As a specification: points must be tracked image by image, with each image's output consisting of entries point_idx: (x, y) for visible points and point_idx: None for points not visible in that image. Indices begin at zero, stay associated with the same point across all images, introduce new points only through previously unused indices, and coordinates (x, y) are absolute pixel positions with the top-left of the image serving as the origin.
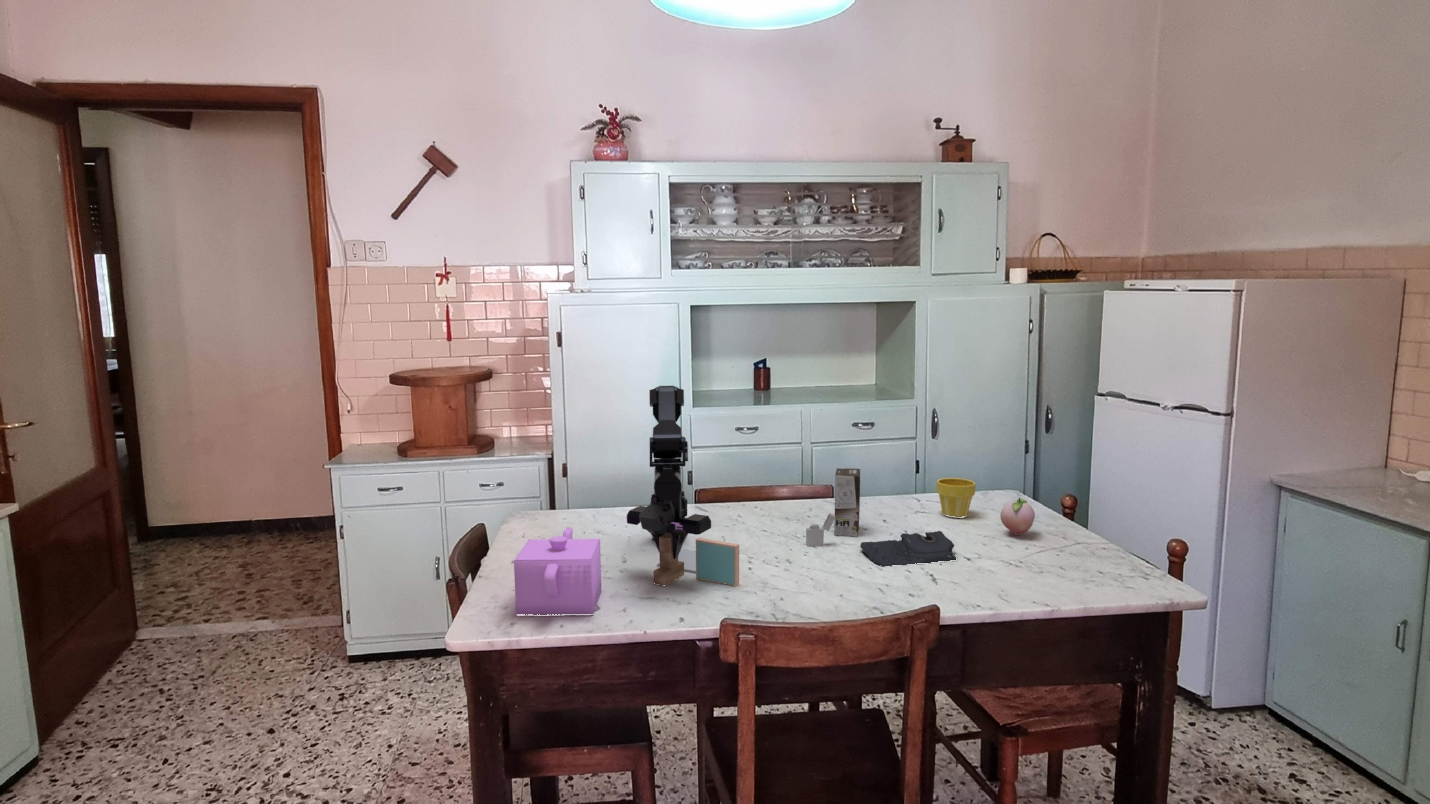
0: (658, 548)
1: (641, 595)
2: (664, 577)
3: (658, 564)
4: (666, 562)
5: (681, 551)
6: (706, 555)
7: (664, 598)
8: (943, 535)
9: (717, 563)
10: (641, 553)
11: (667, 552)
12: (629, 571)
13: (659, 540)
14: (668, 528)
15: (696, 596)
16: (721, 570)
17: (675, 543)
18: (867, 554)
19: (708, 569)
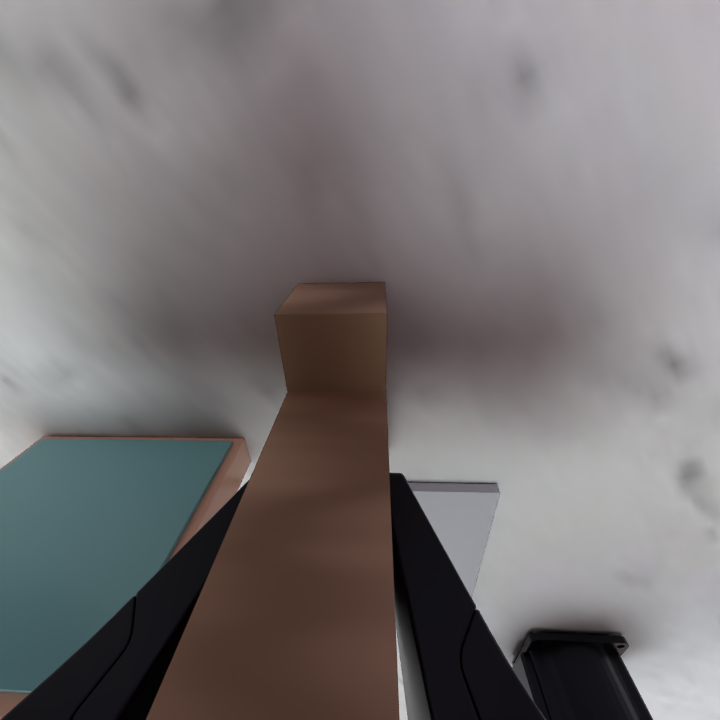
0: (422, 535)
1: (334, 12)
2: (290, 302)
3: (491, 490)
4: (319, 422)
5: None
6: (85, 565)
7: (144, 70)
8: None
9: (42, 522)
10: (627, 556)
11: (284, 498)
12: (619, 380)
13: (390, 663)
14: (581, 712)
15: (36, 237)
16: (51, 487)
17: (118, 642)
18: None
19: (136, 482)
